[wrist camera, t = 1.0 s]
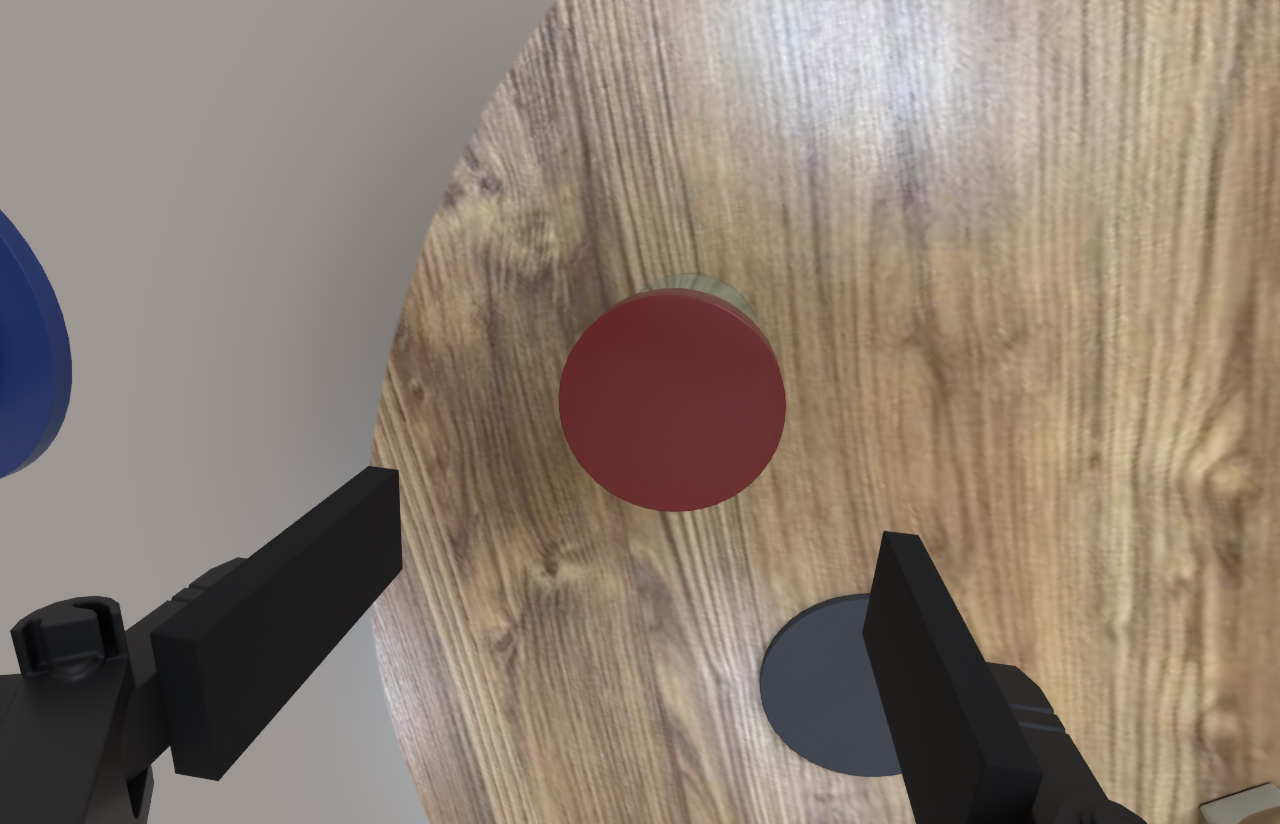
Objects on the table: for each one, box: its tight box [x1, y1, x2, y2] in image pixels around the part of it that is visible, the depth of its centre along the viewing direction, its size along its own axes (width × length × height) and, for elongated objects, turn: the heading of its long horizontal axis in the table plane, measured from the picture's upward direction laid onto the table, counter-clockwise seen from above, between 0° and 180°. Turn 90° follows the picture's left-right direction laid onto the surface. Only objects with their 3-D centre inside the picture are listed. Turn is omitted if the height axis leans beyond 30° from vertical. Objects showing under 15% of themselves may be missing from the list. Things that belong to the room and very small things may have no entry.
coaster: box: [760, 594, 902, 777], centre depth 42 cm, size 13×13×1 cm
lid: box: [559, 288, 786, 512], centre depth 27 cm, size 9×9×2 cm
